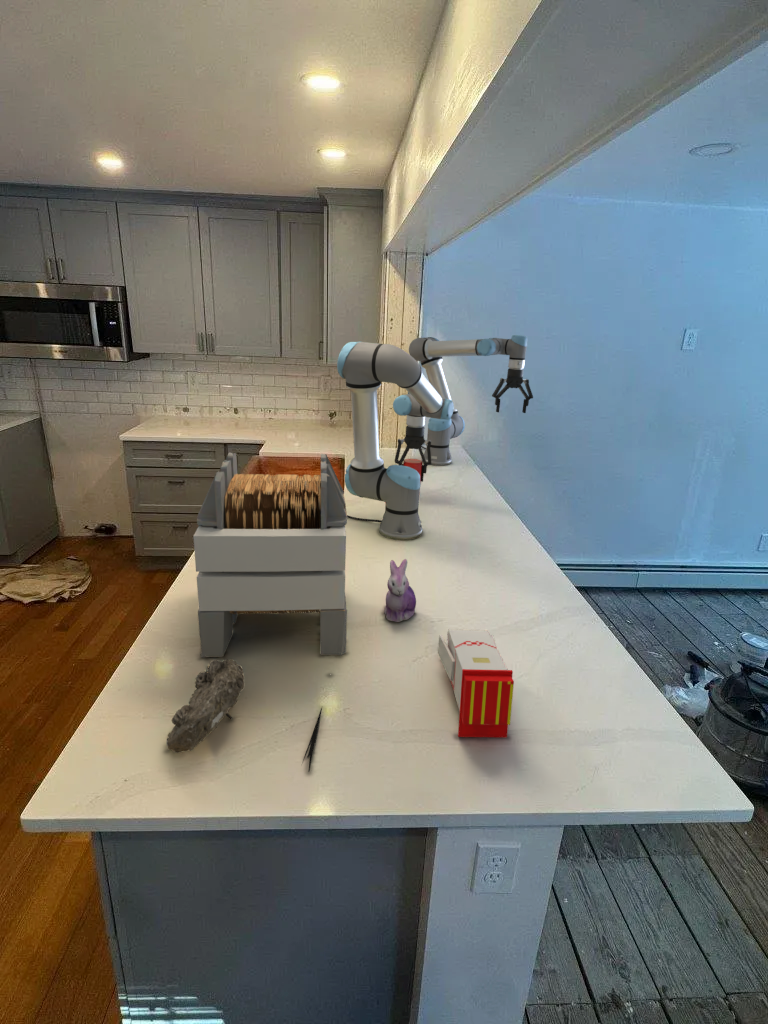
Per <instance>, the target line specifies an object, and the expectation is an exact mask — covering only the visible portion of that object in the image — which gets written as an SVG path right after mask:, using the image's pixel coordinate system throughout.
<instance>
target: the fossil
mask: <svg viewBox="0 0 768 1024" xmlns="http://www.w3.org/2000/svg"><path fill="white" fill-rule="evenodd" d="M243 670H244V669H243V667H242V665H240V664H237V662H236V661H235V660H234V659H232V658H231V659H227V658H226V659H224V660H223V661H222V660H217V659H212V660H211V661H210V663H209V665H208V666H207V671H201V672H199V673H198V674H197V675H196V676H195V680H194V684H195V685H194V687H195V689H194V690H193V693H192V694H191V697H190V698H189V700H188V704H184V705H182V706H181V707H180V709H177V710H176V711H175V713H174V715H173V716H172V718H171V723H172V724H173V727H172V730H171V731H170V732H168V734H167V738H166V741H167V742H166V745H167V749H168V750H169V751H173V752H174V753H176V754H178V753H182V752H188V751H189V752H192V751H193V750H195V748H196V747H197V746H199V744H200V743H201V742H203V741H204V740H205V739H206V738H207V737H208V736H209V735H210V734H211V733H212V732H214V730H215V729H217V727H218V726H219V724H220V722H221V721H222V720H223V719H224V718H225V716H226V717H227V719H229V720H233V717H232V715H230V714H229V710H230V709H231V708H234V706H235V704H236V703H237V702H238V699H239V697H240V695H241V693H242V691H243V690H245V689H244V688H245V675H244V671H243Z"/></svg>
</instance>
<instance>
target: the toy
mask: <svg viewBox="0 0 768 1024" xmlns="http://www.w3.org/2000/svg"><path fill="white" fill-rule="evenodd" d="M446 640H447V643H446V641H445V639H444V636H443V635H442V634H439V637H438V646H437V656H438V657H439V659H440V661H441V663H442V666H443V668H444V670H445V672H446V674H447V677H448V679H449V681H450V684H451V687H452V690H453V693H454V697H455V701H456V705H457V708H458V711H459V714H458V715H459V716H458V730H457V731H458V732H457V737H458V738H508V731H509V726H510V725H511V717H512V707H513V697H514V696H513V695H514V684H515V680H514V679H513V673H514V671H513V670H512V669H508V667H507V665H506V662H505V661H504V659H503V658H502V655H501V653H500V651H499V649H498V647H497V643H496V639H495V637H494V635H493V634H491V632H490V631H489V629H467V628H466V629H465V628H463V629H461V628H460V629H459V628H448V630H447V639H446Z"/></svg>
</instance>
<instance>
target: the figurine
mask: <svg viewBox="0 0 768 1024" xmlns="http://www.w3.org/2000/svg"><path fill="white" fill-rule="evenodd" d="M407 567H408V559H406V558H404V559H403V560H402V561H401V563H400V565H399V566H398V565H397V563H396V562H395V561H394V560H393V559H391V560H390V561H389V570H390V576H389V578H388V579H387V589H388V591H387V592H386V594H385V595H386V596H385V607H384V615H385V616H386V620H387V621H391V622H395V623H400V622H402V621H406V620H409V619H410V618H411V617H413V616H414V615H415V610H416V606H417V597H416V593H415V591H414V590H413V587H411V586H410V582H409V579H408V577H407V574H406V571H407Z"/></svg>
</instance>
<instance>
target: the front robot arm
mask: <svg viewBox="0 0 768 1024" xmlns="http://www.w3.org/2000/svg"><path fill="white" fill-rule="evenodd" d="M336 363H337V364H336V370H337V373H338V374H339V376H340V377H341V378H342V379H345V387H346V388H347V389H348V390H349V391H350V399H351V400H350V401H351V417H352V418H351V419H352V435H353V453H354V457H353V458H352V459H351V460H350V463H349V464H348V465H347V467H346V469H345V474H344V484H345V487H346V490H347V492H349V494H351V495H353V496H357V497H359V498H365V499H370V500H374V501H380V502H385V504H384V505H385V507H384V508H385V509H384V513H383V515H382V519H373V518H371V519H370V518H362V517H357V516H356V517H355V516H351V515H348V514H347V519H350V520H353V521H354V520H355V521H362V522H370V523H379V525H378V533H379V534H380V535H381V536H382V537H385V538H387V539H389V540H395V541H410V540H415V539H418V538H420V537H421V536H422V535H423V525H422V520H421V518H420V515H419V507H420V506H419V505H420V496H421V495H420V494H421V485H422V483H423V482H424V475H425V474H427V470H428V469H427V468H428V466H432V465H431V452H430V445H431V441H430V440H427V439H425V426H426V418H429V419H430V418H436V419H446V420H448V419H450V418H451V416H452V414H453V410H454V408H455V405H454V402H453V400H452V399H451V400H449V399H443V398H442V397H441V396H440V395H439V394H438V392H437V391H436V390H435V389H434V387H433V386H432V385H431V384H430V382H429V379H428V378H427V377H426V376H425V374H424V373H423V367H422V366H421V364H419V361H416V360H415V359H414V358H413V357H412V356H411V355H410V354H409V352H407V351H405V349H402V348H400V347H399V346H397V345H393V344H389V343H377V342H367V341H349V342H347V343H345V345H343V346H342V348H341V349H340V352H339V354H338V357H337V362H336ZM382 383H390V384H395V385H397V386H398V387H399V388H401V389H405V390H406V392H407V393H406V394H400V395H399V396H396V398H394V400H393V403H392V408H393V411H394V412H395V414H396V415H398V416H401V417H403V416H404V417H406V422H405V424H406V426H405V436H404V438H398V439H397V447H396V448H397V449H396V452H395V455H394V456H395V457H394V464H391V465H388V466H387V467H385V461H384V459H383V458H382V457H381V456H380V441H379V439H380V437H379V410H378V390H379V388H380V387H381V386H382ZM404 443H405V445H406V446H405V449H404V450H403V453H402V455H401V456H400V454H401V449H402V445H404ZM423 443H424V444H425V446H426V447H427V455H428V462H426V460H425V457H424V452H423V448H422V447H421V446H423V445H424V444H423ZM410 450H418V452H419V454H420V458H421V460H422V475H421V484H420V474H419V473H418V472H417V471H416V470H415V469H413V468H410V467H407V466H403V463H404V460H405V459H406V457H407V455H408V453H409V451H410Z"/></svg>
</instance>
